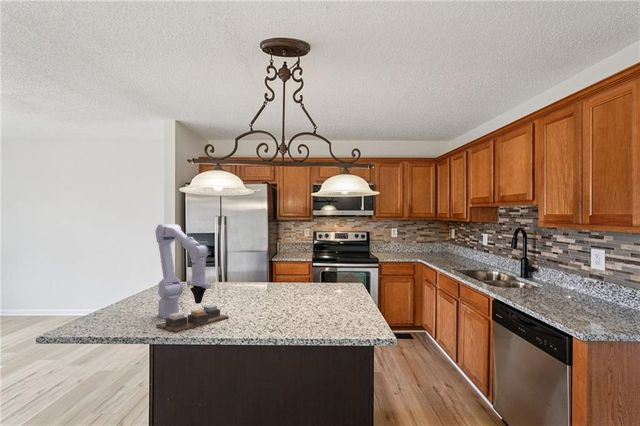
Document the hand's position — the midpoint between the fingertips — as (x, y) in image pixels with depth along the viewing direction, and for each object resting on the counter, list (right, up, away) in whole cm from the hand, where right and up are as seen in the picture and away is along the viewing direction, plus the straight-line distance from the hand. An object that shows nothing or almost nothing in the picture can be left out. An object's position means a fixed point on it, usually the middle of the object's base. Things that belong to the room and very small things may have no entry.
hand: (198, 303), depth 170 cm
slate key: (+3, -7, +9) cm, 12 cm away
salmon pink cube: (0, -7, 0) cm, 7 cm away
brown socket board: (-2, -9, +2) cm, 9 cm away
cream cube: (-8, -7, -6) cm, 12 cm away
